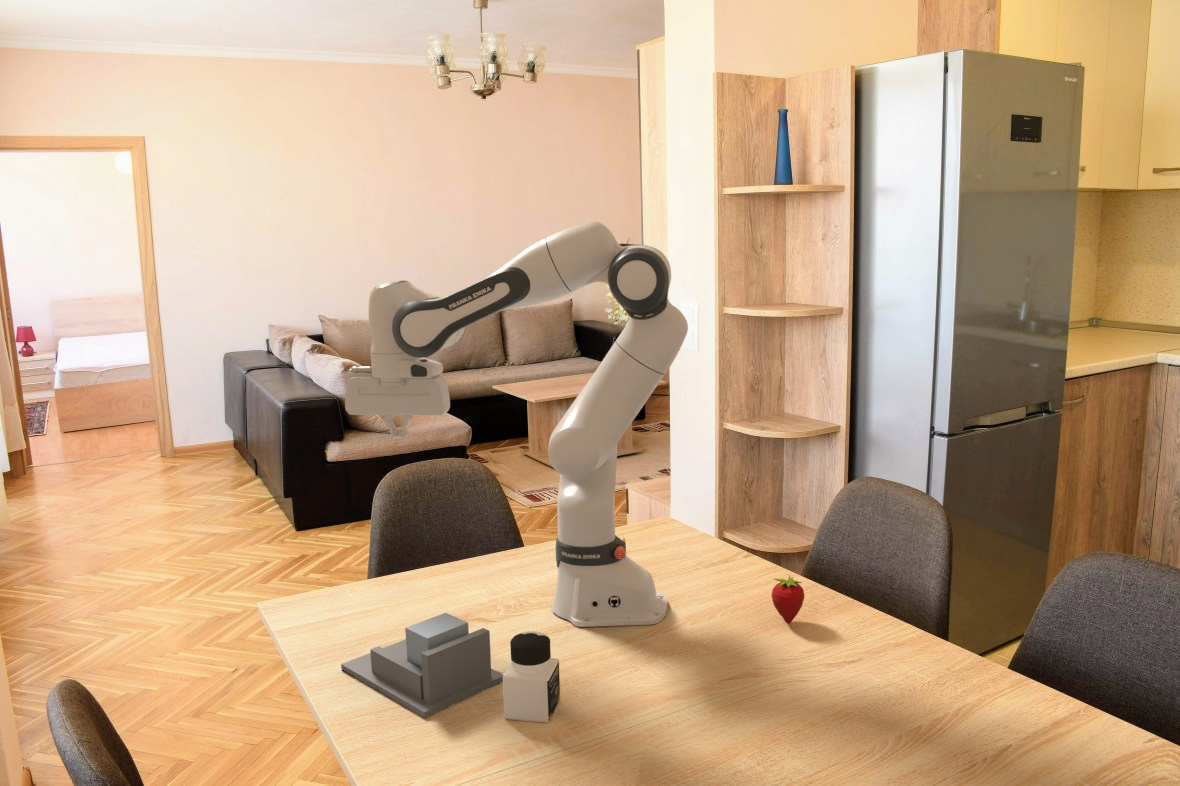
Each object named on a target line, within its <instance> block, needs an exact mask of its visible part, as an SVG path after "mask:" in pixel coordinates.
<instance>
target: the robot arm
mask: <svg viewBox="0 0 1180 786" xmlns="http://www.w3.org/2000/svg"><path fill="white" fill-rule="evenodd" d="M671 282H672V269H671V265H670V262H669V260H668V258H667V256H665V254H664V253H663V252H662V251H661V250H659V249H658V248H655V247H653V246H650V245H647V244H635V243H634V244H633V243H618V241H617V239H616V238H615V236H614V234H613V232H612V231H611V230H610V229H609V228H608V227H607V226H606V225H605V224H604V223H601V222H599V221H597V220H596V221H594V220H592V221H587V222H582V223H579V224H576V225H572V226H570V227H567V228H564V229H562V230H559V231H556V232H554V233H552V234H550V235H548V236H546V237H544V238H542V239H540V240H537V241H536V242H534V243H533V244H531V245H529V246H528V247H526V248H524V249H523V250H521V252H519V253H518V254H517V255H515V256H514V257H513V258H511V259H509V260H508V261H507V262H506V263H504V264H503V265H502V266H501V267H499V268H497V269H496V270H495V271H493V272H492V273H491V274H489V275H488V276H486V277H484V278H483V279H481V280H479V281H476V282H475V283H472V284H471V285H468V286H466V287H464V288H462V289H460V290H457V291H455V292H453V293H452V294H449V295H447V296H444V297H441V296H438V295H434V294H432V293H428V292H427V291H424V290H422V289H420V288H418V287H416V285H414V284H413V283H411V282H410V281H408V280H396V281H391V282H386V283H382V284H379V285H375V286H374V287H373V289H371V291H370V293H369V298H368V330H369V334H370V338H371V346H370V363H371V366H351V367H350V368H349V369H347V370H346V372H345V373H344V385H345V398H344V399H345V401H344V403H345V405H344V406H345V407H344V408H345V409H344V410H345V411H346V413H347V414H349V415H350V416H355V415H356V416H359V415H360V416H363V415H364V416H383V422H384V424H385V425H386V426H387V428H388V429H389V430H390V433H389V434H390V438H392V439H394V438H395V439H397V438H398V439H399V438H400V439H406V438H408V435H409V429H408V428H409V427H410V424H411V423H412V421H413V419H414V418H413V416H443V415H445V414H447V413H448V412H449V410H450V408H451V399H450V398H451V397H450V391H449V386H448V382H447V379H446V378H445V377H444V376H443V375H441V374H442V373H444V372H443V371H444V366H443V365H444V364H443V363H442V362H439V361H436V360H433V359H432V358H431V359H430V358H427V357H431V356H432V355H434V354H436V353H437V352H440V351H442V350H443V349H446V348H448V347H451V346H453V345H455V344H456V343H457V342H459V341H460V340H461V339H462V337H463V336H464V334H465V332H466V327H468V326H471V325H472V324H474V323H477V322H479V321H481V320H483V319H485V318H488V317H490V316H491V315H494V314H496V313H499V312H502V311H505V310H509V309H515V308H520V307H527V306H533V305H537V304H542V303H546V302H551V301H553V300H557V299H560V298H561V297H565V296H566V295H568V294H571V293H573V292H576V291H578V290H579V289H582V288H584V287H586V286H588V285H591V284H593V283H594V284H595V283H605V284H607V285H608V288H609V291H610V292H611V294H612V296H613V298H614V300H616V302H617V303H618V304H619V305H620V306H621V307H622V309H623V310H624V311H625V312H626V314H627V315H628V316H629V317H628V321H627V322H626V324H625V326H624V328H623V330H622V331H621V332H620V334H619V336H617V338H616V340H615V341H614V343H613V344H612V346H611V347H610V348H609V350H608V351H607V353H606V354H605V356H604V357H603V359H602V361H601V362H600V364H599V365H598V366H597V369H596V370H595V371H594V373H593V374H592V375H591V377H590V378H589V380H588V381H587V383H586V384H585V385H584V386H583V388H581V389H582V390H581V391H580V392H579V393H578V395H577V396H576V398H575V399H574V400H573V402H572V403H571V405H570V406H569V408H568V409H567V410H566V412H565V413H564V415H563V416H562V417H561V419H560V420H559V422H558V423H557V425H556V426H555V428H554V429H553V431H552V432H551V435H550V437H549V440H548V441H549V442H548V447H547V455H548V460H549V462H550V465H551V466H552V468H553V469H554V470H555V471H556V472H557V473H558V474H559V484H558V491H557V498H556V499H557V500H556V508H557V509H556V513H557V537H556V538H555V562H556V567H557V575H556V576H557V579H556V586H555V592H554V598H553V601H552V604H551V610H552V612H553V613H554V614H555V615H556V616H557V617H559V618H562V619H565V620H567V621H569V622H570V623H572V625H573V626H575V627H580V628H584V627H587V628H588V627H612V626H613V627H614V626H615V627H616V626H644V625H645V626H646V625H655V624H657V623H659V622H660V621H662V620H663V619H664V618H665V616H666V615H667V612H668V607H669V606H668V600H667V598H666V596H665V595H664V594H663V593H661V592H659V591H656V587H655V586H656V585H655V581H654V578H653V576H652V574H651V573H650V571H649V570H648V569H646V568H645V567H643V566H641V565H640V564H638V562H636V561H634V560H633V559H632V558H631V557H629V556H627V544H626V538H625V537H623V539H622V538H620V537H618V536H617V535H616V515H615V514H616V513H615V511H616V510H615V509H616V508H615V505H616V504H615V495H616V494H615V493H616V482H617V481H616V479H617V477H616V476H617V465H618V464H617V462H618V443H619V442H620V441H621V439H622V437H623V436H624V435H625V433H626V431H627V430H628V429H629V427H630V425H632V423H633V421H634V420H635V419H636V417H637V416H638V414H639V413H640V411H641V410H642V409H643V407H644V405H645V404H646V403H647V402H648V400H649V398H650V397H651V396H652V394H653V392H654V391H655V390H656V388H657V386H658V385H659V384H660V382H661V381H662V380H663V378H664V377H665V375H666V373H667V372H668V370H669V369H670V367H671V366H672V364H673V363H674V361H675V360H676V357H677V356H678V353H679V351H680V349H681V347H682V346H683V344H684V342H685V339H686V337H687V334H688V331H689V324H688V321H687V319H686V317H685V315H684V314H683V313H682V312H681V310H680V309H679V308H677V307H676V306H675V305H673V304H672V303H671V302H670V300H669V297H668V295H669V289H670V287H671ZM395 416H401V421H404V423H403V424H402V426H401V427H398V426H396V423H395V422H394V419H395Z"/></svg>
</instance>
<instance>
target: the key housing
mask: <svg viewBox="0 0 1180 786" xmlns="http://www.w3.org/2000/svg"><path fill="white" fill-rule="evenodd" d="M490 634H491V633H490V630H489V629H488V628H487V629H486V628H484V627H482V628H480V629H477V630H475V631H471V632H470V633H469V634H467V635H465V636H462V637H460V638H457V639H455V640H452V641H450V642H447V643H445V644H442V645H440V646H437V647H435V648H432V649H430V650H427V651H425V652H422V653H421V658H422V669H421V668H419V667H417V666H415V665H414V664H412V663H410V662H408V661H407V647H406V638H405V639H403V640H400V641H398V642H395V643H392V644H389V645H387V646H385V647H381V646H375V647H373V648H371V649H370V652H368V653H366V654H364V655H361V656H359V657H356V658H354V659H351V660H348V661H345V662H343V663H341V665H340V666H341V669H342V670H341V671H343V670H344V671H343V672H345V671H346V672H347V673H346V672H345V673H346V674H348V673H349V674H348V675H350V674H351V675H350V676H352V675H353V676H354V677H353V676H352V677H353V678H355V677H356V678H355V679H357V678H358V679H359V680H358V679H357V680H358V681H361V682H362V683H363V684H365V683H366V684H365V685H367V686H368V687H371V688H373V689H374V690H375V691H377V690H378V691H377V692H379V693H380V694H383V695H384V696H385V697H387V698H389V699H391V700H393V701H394V702H396V703H398V704H400V705H402V706H403V707H405V708H407V709H408V710H409V711H411V712H414V713H415V714H417V715H419V716H420V717H422V718H423V719H426V718H429V717H431V716H433V715H435V714H438V713H439V712H441V711H444V710H446V709H448V708H450V707H452V706H454V705H456V704H460V703H461V702H463V701H465V700H467V699H469V698H471V697H473V696H476V695H478V694H480V693H482V692H484V691H487V690H489V689H490V688H491V689H492V688H493V687H496V686H497V685H500V684H503V675H504V674H503V673H502V672H499V671H498V670H495V669H493V668H492V658H491V656H492V653H491V638H490V636H491V635H490Z"/></svg>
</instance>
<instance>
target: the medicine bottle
mask: <svg viewBox="0 0 1180 786" xmlns="http://www.w3.org/2000/svg"><path fill="white" fill-rule="evenodd" d="M509 645H510V664H509V665H508V666H507V669H506V670H505V672H504V675H503V682H502V691H503V692H502V694H503V695H502V696H503V715H504V719H505V720H509V721H512V720H513V721H520V722H522V721H524V722H535V723H545V724H546V723H547V724H548V723H550V722H551V721H552V718H553V716H554V714H555V712H556V710H557V707H558V706H559V703H560V701H561V685H560V660H559V659H558V658H557V657H556V658H555V657H552V656H551V655H552V653H551V639H550V637H549V636H548V635H547V634H546V633H544V632H541V631H535V630H533V631H532V630H530V631H529V630H528V631H523V632H520V633H518V634H516V635H514V636H513V637H512V638H511V640H510V642H509Z"/></svg>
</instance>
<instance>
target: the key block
mask: <svg viewBox="0 0 1180 786" xmlns="http://www.w3.org/2000/svg"><path fill="white" fill-rule="evenodd" d="M467 634H470V633H469V622H468V621H466V620H463V619H462V618H458V617H457V616H454V615H452V614H449V613H448V612H444V613H442V614H438V615H436V616H433V617H431V618H429V619H425V620H423V621H419V622H418V623H415V624H411V625H409V626H407V627H405V639H406V647H407V661H408V662H410V663H412V664H414V665H415V666H417V667H419V668H421V669H422V658H421V653H422V652H425V651H427V650H430V649H432V648H435V647H437V646H440V645H442V644H445V643H447V642H450V641H452V640H455V639H457V638H460V637H462V636H465V635H467Z"/></svg>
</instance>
